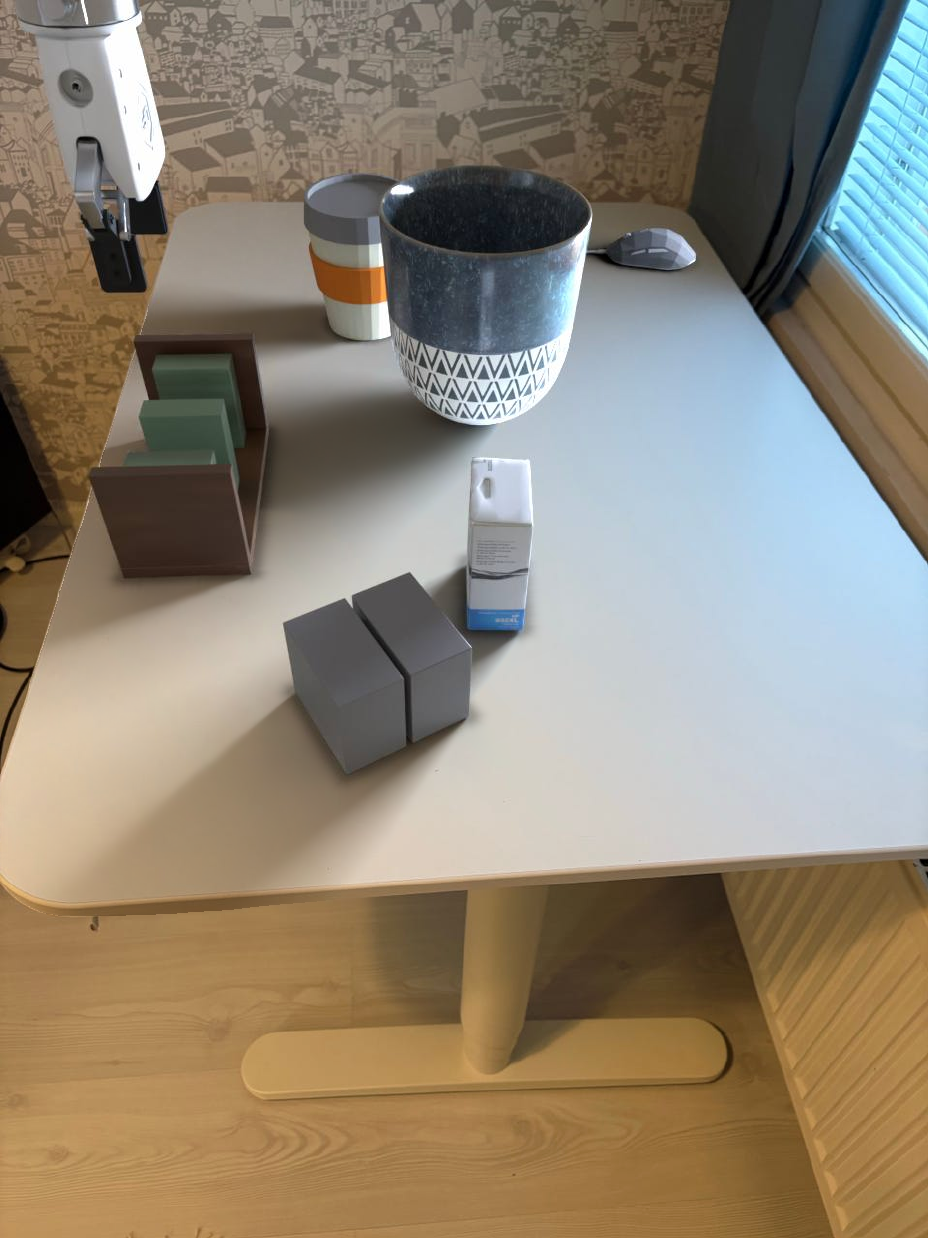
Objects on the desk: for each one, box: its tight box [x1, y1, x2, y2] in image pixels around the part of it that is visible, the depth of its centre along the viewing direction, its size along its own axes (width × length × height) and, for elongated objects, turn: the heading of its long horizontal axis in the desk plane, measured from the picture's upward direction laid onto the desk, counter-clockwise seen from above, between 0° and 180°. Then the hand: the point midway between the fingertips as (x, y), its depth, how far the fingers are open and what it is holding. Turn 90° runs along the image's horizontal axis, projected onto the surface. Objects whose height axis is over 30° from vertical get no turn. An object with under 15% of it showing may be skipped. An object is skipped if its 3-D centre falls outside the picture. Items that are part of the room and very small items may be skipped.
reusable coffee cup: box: [303, 172, 401, 341], centre depth 105 cm, size 13×13×15 cm
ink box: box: [466, 456, 534, 631], centre depth 75 cm, size 8×5×12 cm, turn 179°
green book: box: [138, 399, 240, 491], centre depth 83 cm, size 3×7×9 cm, turn 94°
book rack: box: [87, 332, 270, 579], centre depth 83 cm, size 21×11×11 cm, turn 4°
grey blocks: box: [282, 571, 473, 776], centre depth 68 cm, size 10×9×8 cm
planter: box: [378, 164, 593, 426], centre depth 91 cm, size 20×20×21 cm
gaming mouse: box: [586, 227, 697, 271], centre depth 122 cm, size 6×15×4 cm, turn 81°
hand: (137, 260), depth 70 cm, fingers open, 9 cm apart
